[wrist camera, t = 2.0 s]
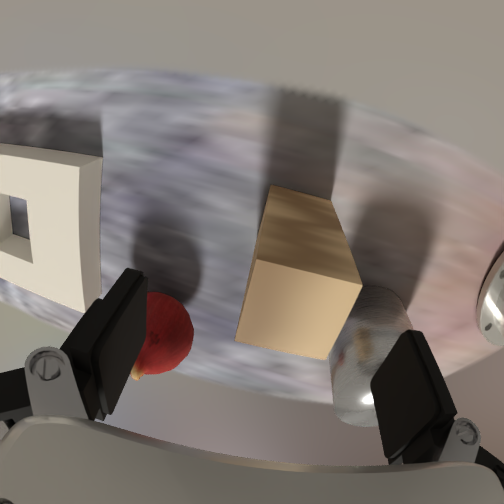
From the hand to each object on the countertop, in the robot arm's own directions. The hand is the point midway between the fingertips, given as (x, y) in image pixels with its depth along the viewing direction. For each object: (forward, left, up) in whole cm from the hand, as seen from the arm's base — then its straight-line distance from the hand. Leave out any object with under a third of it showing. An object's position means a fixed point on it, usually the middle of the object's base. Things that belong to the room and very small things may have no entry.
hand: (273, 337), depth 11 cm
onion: (+12, 0, -12) cm, 16 cm away
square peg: (-1, +1, -12) cm, 11 cm away
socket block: (+17, -14, -11) cm, 24 cm away
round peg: (0, +11, -12) cm, 16 cm away
